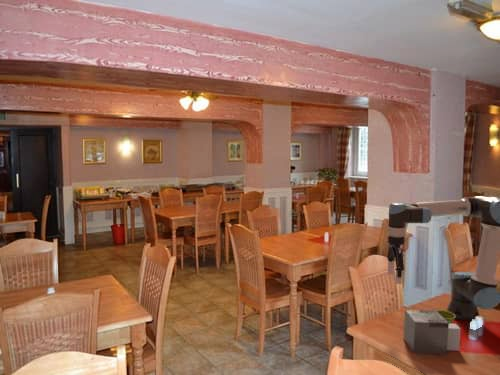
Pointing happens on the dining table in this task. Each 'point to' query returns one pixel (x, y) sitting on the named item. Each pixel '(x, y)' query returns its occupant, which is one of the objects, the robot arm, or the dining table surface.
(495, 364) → the dining table surface
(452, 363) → the dining table surface
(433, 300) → the dining table surface
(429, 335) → the box
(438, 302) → the dining table surface
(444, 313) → the plant pot
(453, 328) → the upright grey box
